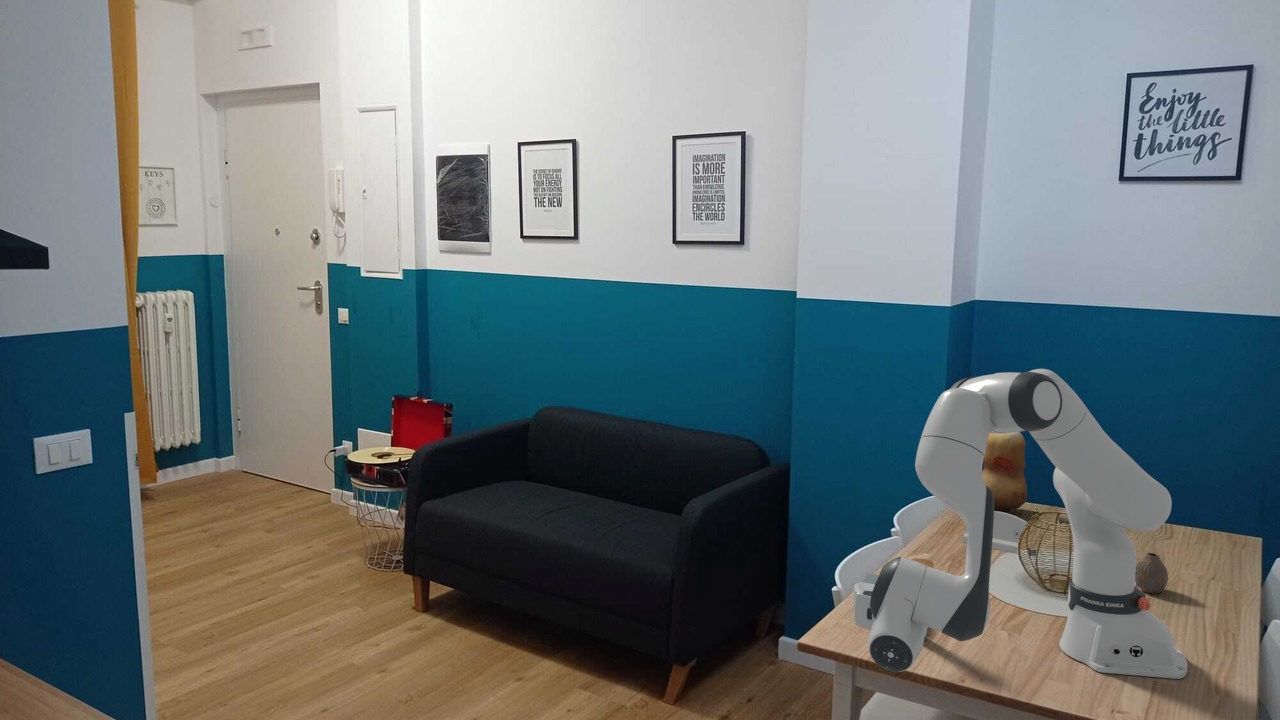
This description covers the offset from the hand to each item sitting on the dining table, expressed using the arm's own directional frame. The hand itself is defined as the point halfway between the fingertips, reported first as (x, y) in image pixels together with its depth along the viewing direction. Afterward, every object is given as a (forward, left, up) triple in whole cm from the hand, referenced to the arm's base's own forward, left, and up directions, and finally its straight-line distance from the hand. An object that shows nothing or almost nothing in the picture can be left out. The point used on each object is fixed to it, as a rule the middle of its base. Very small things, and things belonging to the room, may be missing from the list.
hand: (912, 588), depth 177 cm
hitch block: (+8, -23, -16) cm, 29 cm away
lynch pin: (0, -12, -16) cm, 20 cm away
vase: (-47, -57, -16) cm, 76 cm away
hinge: (-13, -76, -16) cm, 79 cm away
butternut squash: (-13, -106, -16) cm, 108 cm away
